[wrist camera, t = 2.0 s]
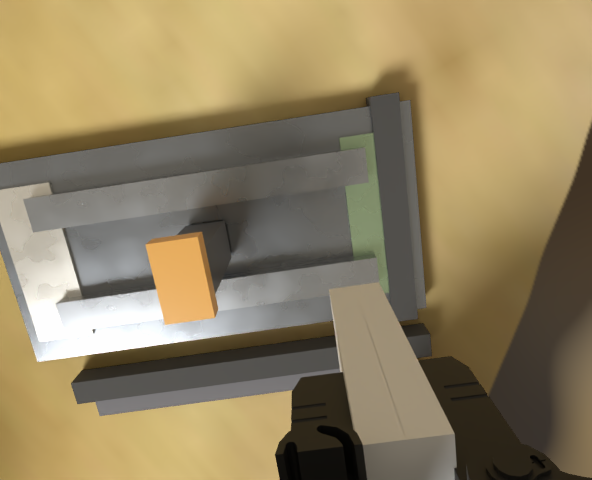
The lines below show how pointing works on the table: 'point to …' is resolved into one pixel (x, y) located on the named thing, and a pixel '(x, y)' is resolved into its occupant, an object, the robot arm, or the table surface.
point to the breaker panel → (191, 211)
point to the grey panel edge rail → (394, 203)
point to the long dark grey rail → (217, 374)
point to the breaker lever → (189, 271)
